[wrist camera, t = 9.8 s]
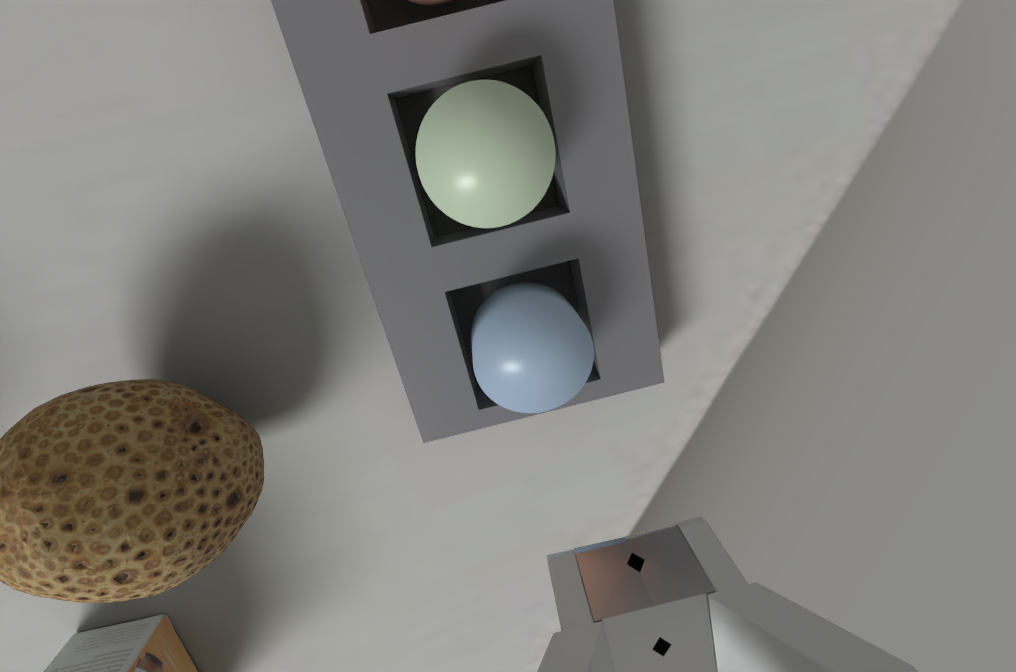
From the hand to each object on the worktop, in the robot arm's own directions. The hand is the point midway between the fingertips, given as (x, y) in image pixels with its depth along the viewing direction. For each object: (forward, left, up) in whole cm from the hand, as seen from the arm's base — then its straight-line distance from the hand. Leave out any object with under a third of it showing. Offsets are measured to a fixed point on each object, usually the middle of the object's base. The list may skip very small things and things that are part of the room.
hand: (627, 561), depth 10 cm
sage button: (-7, 0, -15) cm, 17 cm away
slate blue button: (+1, 0, -15) cm, 15 cm away
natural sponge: (+2, -17, -17) cm, 24 cm away
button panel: (-7, 0, -17) cm, 18 cm away
